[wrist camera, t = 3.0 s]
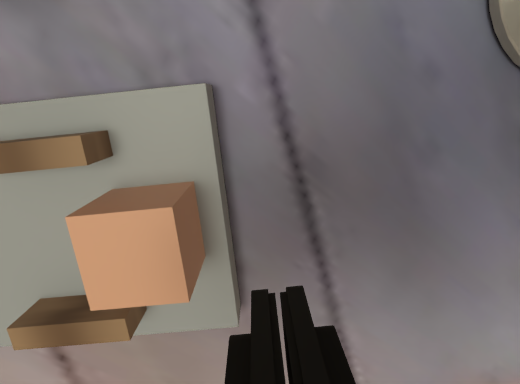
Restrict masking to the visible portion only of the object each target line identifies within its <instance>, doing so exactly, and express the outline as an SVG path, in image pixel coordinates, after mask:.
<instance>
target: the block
mask: <svg viewBox="0 0 520 384" xmlns="http://www.w3.org/2000/svg"><path fill="white" fill-rule="evenodd" d="M65 220H66V223H67V227H68V231H69V234H70V238H71V241H72V245H73V249H74V252H75V256H76V260H77V263H78V267H79V271H80V274H81V278H82V281H83V285H84V289H85V292H86V296H87V300H88V303H89V307H90V311H95V310H107V309H118V308H130V307H141V306H153V305H165V304H176V303H188V302H190V299H191V296H192V293H193V291H194V288H195V285H196V282H197V279H198V276H199V274H200V271H201V268H202V265H203V262H204V259H205V257H206V256H205V249H204V243H203V237H202V230H201V224H200V218H199V211H198V205H197V199H196V192H195V186H194V181H191V182H181V183H170V184H160V185H150V186H139V187H129V188H119V189H112V190H110V191H108V192H107V193H105V194H103V195H102V196H100V197H98V198H97V199H95V200H93V201H91V202H90V203H88V204H86V205H85V206H83V207H81V208H80V209H78V210H76V211H75V212H73V213H71V214H69V215H68V216H66V217H65Z"/></svg>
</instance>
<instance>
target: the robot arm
mask: <svg viewBox="0 0 520 384" xmlns="http://www.w3.org/2000/svg"><path fill="white" fill-rule="evenodd" d="M489 10H490V15H491V19H492V23H493V27H494V31H495V33H496V35H497V37H498V39H499V41H500V43H501V46H502V48H503V49H504V50H505V52H506V53H507V54H508V56H509V57H510V58H511V59H512V61H513V62H514V63H515V64H516V65H518V66H519V67H520V0H489ZM280 298H281V308H282V319H283V330H284V340H285V351H286V361H287V371H288V378H289V384H356V383H355V381H354V378H353V375H352V372H351V370H350V367H349V364H348V362H347V359H346V356H345V354H344V351H343V348H342V346H341V343H340V340H339V337H338V335H337V332H336V329H335V327H334V326H333V325H332V326H322V327H314V324H313V321H312V317H311V314H310V310H309V306H308V303H307V299H306V296H305V292H304V288H303V286H293V287H286V292H280ZM225 384H285V376H284V367H283V359H282V350H281V342H280V333H279V324H278V316H277V307H276V299H275V293H269V294H268V289H263V290H253V291H251V334H241V335H231V336H230V338H229V346H228V356H227V365H226V375H225Z"/></svg>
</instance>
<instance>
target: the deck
mask: <svg viewBox="0 0 520 384" xmlns="http://www.w3.org/2000/svg"><path fill="white" fill-rule="evenodd" d="M104 130H108V134H109V139H110V143H111V148H112V152H113V156H111V157H109V158H106V159H103V160H101V161H98V162H95V163H92V164H90V165H86V166H76V167H66V168H56V169H46V170H35V171H25V172H15V173H5V174H0V347H4V346H12V343H11V340H10V337H9V335H8V332H7V328H8V327H9V326H10V325H11V324H12V323H13V322H14V321H16V320H17V319H18V318H19V317H20V316H21V315H22V314H23V313H25V312H26V311H27V310H28V309H29V308H30V307H31V306H32V305H33V304H35V303H36V302H37V301H38V300H39V299H42V298H53V297H65V296H76V295H86V292H85V289H84V285H83V281H82V278H81V274H80V271H79V267H78V263H77V260H76V256H75V252H74V249H73V245H72V241H71V238H70V234H69V231H68V227H67V223H66V220H65V217H66V216H68V215H69V214H71V213H73V212H75V211H76V210H78V209H80V208H81V207H83V206H85V205H86V204H88V203H90V202H91V201H93V200H95V199H97V198H98V197H100V196H102V195H103V194H105V193H107V192H108V191H110V190H112V189H119V188H129V187H139V186H150V185H160V184H170V183H181V182H191V181H194V186H195V192H196V199H197V205H198V211H199V218H200V224H201V230H202V237H203V243H204V249H205V256H206V257H205V259H204V262H203V265H202V268H201V271H200V274H199V276H198V279H197V282H196V285H195V288H194V291H193V293H192V296H191V299H190V302H188V303H176V304H165V305H153V306H147V310H146V312H145V314H144V316H143V318H142V319H141V321H140V323H139V325H138V327H137V329H136V331H135V332H134V334H133V336H135V335H147V334H159V333H170V332H182V331H194V330H206V329H218V328H230V327H239V318H240V307H241V303H240V296H239V288H238V280H237V273H236V265H235V258H234V250H233V243H232V235H231V227H230V220H229V212H228V205H227V197H226V190H225V182H224V174H223V167H222V159H221V152H220V144H219V137H218V129H217V121H216V114H215V106H214V99H213V91H212V85H209V84H206V83H203V84H193V85H184V86H174V87H165V88H155V89H145V90H136V91H126V92H117V93H107V94H98V95H88V96H79V97H69V98H60V99H50V100H41V101H31V102H21V103H12V104H2V105H0V141H6V140H16V139H26V138H36V137H46V136H55V135H65V134H75V133H85V132H95V131H104Z"/></svg>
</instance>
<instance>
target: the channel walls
mask: <svg viewBox="0 0 520 384" xmlns="http://www.w3.org/2000/svg"><path fill="white" fill-rule="evenodd" d="M111 156H113V152H112V148H111V143H110V139H109V134H108V130H104V131H95V132H85V133H75V134H65V135H55V136H46V137H36V138H26V139H16V140H6V141H0V174H5V173H15V172H25V171H35V170H46V169H56V168H66V167H76V166H86V165H90V164H92V163H95V162H98V161H101V160H103V159H106V158H109V157H111ZM146 310H147V306H141V307H130V308H118V309H107V310H95V311H90V307H89V303H88V300H87V296H86V295H76V296H65V297H53V298H42V299H39V300H38V301H37V302H36V303H35V304H33V305H32V306H31V307H30V308H29V309H28V310H27V311H26V312H25V313H23V314H22V315H21V316H20V317H19V318H18V319H17V320H16V321H14V322H13V323H12V324H11V325H10V326H9V327H8V328H7V332H8V335H9V337H10V340H11V343H12V346H13V348H14V350H22V349H34V348H45V347H57V346H69V345H81V344H93V343H105V342H117V341H129V340H131V338H132V336H133V334H134V332H135V331H136V329H137V327H138V325H139V323H140V321H141V319H142V318H143V316H144V314H145V312H146Z"/></svg>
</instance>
